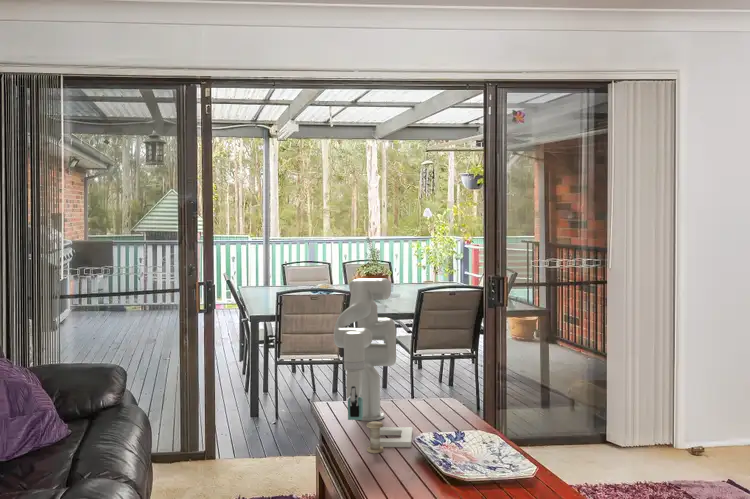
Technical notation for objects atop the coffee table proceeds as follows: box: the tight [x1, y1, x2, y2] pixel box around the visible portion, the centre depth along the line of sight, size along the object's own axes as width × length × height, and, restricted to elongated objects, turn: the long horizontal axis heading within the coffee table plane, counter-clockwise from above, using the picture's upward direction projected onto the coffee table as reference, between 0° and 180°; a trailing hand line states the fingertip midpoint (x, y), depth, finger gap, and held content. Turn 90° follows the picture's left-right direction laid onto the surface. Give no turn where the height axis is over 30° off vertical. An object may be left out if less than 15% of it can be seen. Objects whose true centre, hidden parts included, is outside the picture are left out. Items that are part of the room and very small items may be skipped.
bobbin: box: [366, 420, 384, 454], centre depth 279 cm, size 6×6×10 cm
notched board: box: [380, 426, 414, 448], centre depth 292 cm, size 18×14×2 cm
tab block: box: [347, 397, 363, 421], centre depth 277 cm, size 5×5×7 cm
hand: (355, 414), depth 277 cm, fingers closed on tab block, 4 cm apart
